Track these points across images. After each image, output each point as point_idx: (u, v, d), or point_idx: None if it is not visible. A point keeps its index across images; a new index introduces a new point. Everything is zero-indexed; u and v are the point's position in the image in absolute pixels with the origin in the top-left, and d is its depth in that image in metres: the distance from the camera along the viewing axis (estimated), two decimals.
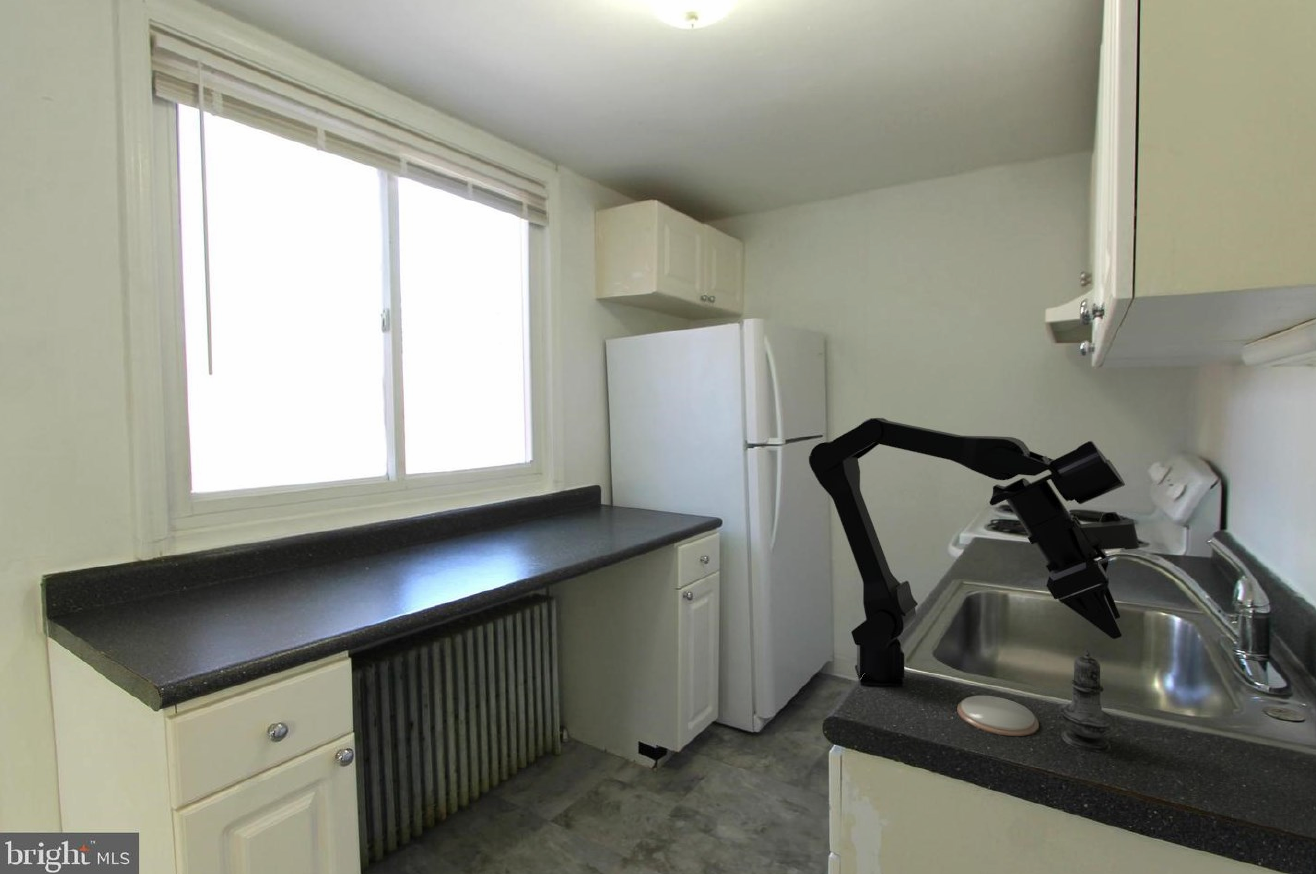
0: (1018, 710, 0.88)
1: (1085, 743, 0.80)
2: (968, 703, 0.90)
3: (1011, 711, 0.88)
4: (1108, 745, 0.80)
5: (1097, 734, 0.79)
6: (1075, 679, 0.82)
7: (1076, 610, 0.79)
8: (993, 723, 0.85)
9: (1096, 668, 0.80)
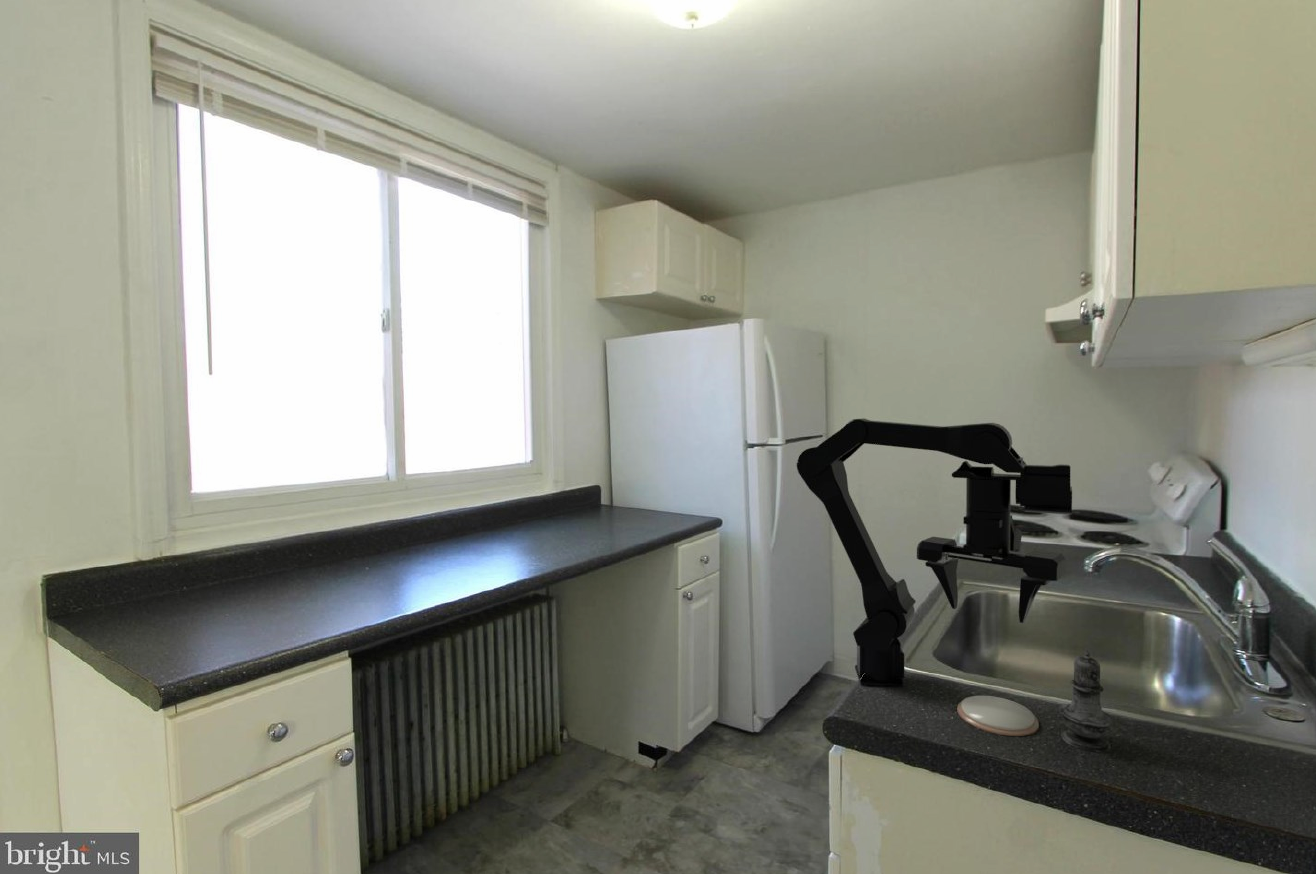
0: (1018, 710, 0.88)
1: (1085, 743, 0.80)
2: (968, 703, 0.90)
3: (1011, 711, 0.88)
4: (1108, 745, 0.80)
5: (1097, 734, 0.79)
6: (1075, 679, 0.82)
7: (1032, 594, 0.86)
8: (993, 723, 0.85)
9: (1096, 668, 0.80)
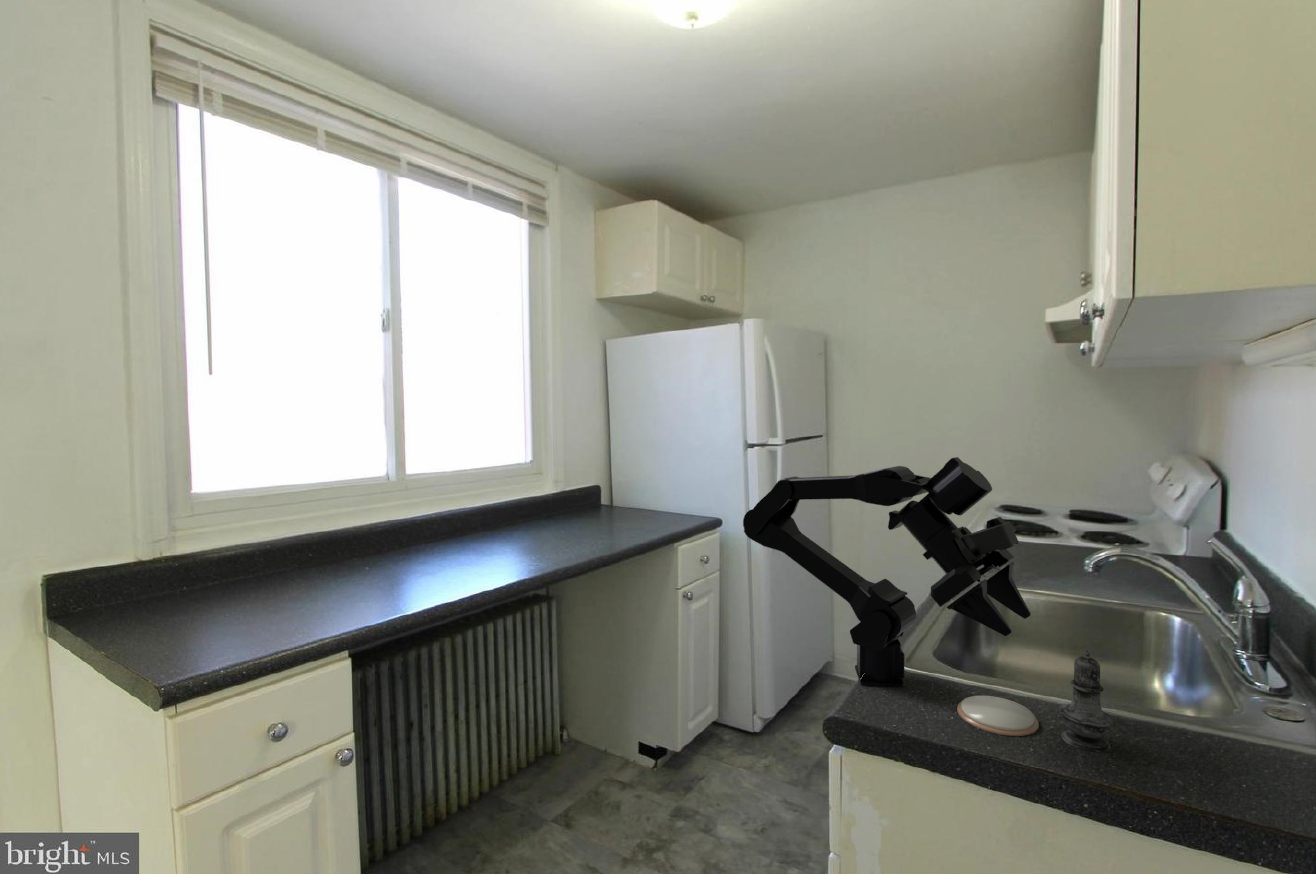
0: (1018, 710, 0.88)
1: (1085, 743, 0.80)
2: (968, 703, 0.90)
3: (1011, 711, 0.88)
4: (1108, 745, 0.80)
5: (1097, 734, 0.79)
6: (1075, 679, 0.82)
7: (965, 614, 0.85)
8: (993, 723, 0.85)
9: (1096, 668, 0.80)
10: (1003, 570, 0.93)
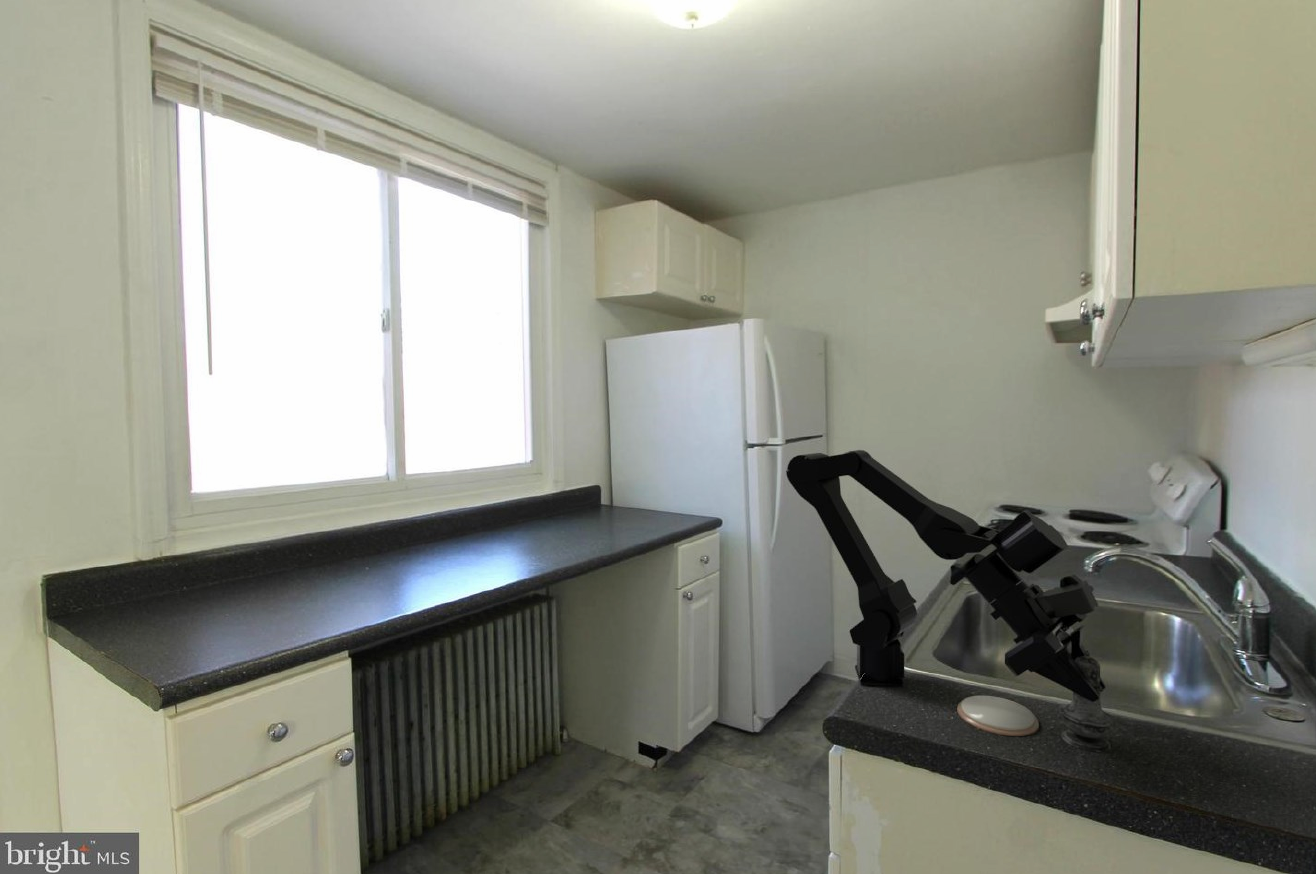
0: (1018, 710, 0.88)
1: (1085, 743, 0.80)
2: (968, 703, 0.90)
3: (1011, 711, 0.88)
4: (1108, 745, 0.80)
5: (1097, 734, 0.79)
6: None
7: (1048, 677, 0.81)
8: (993, 723, 0.85)
9: (1096, 668, 0.80)
10: (1073, 636, 0.84)
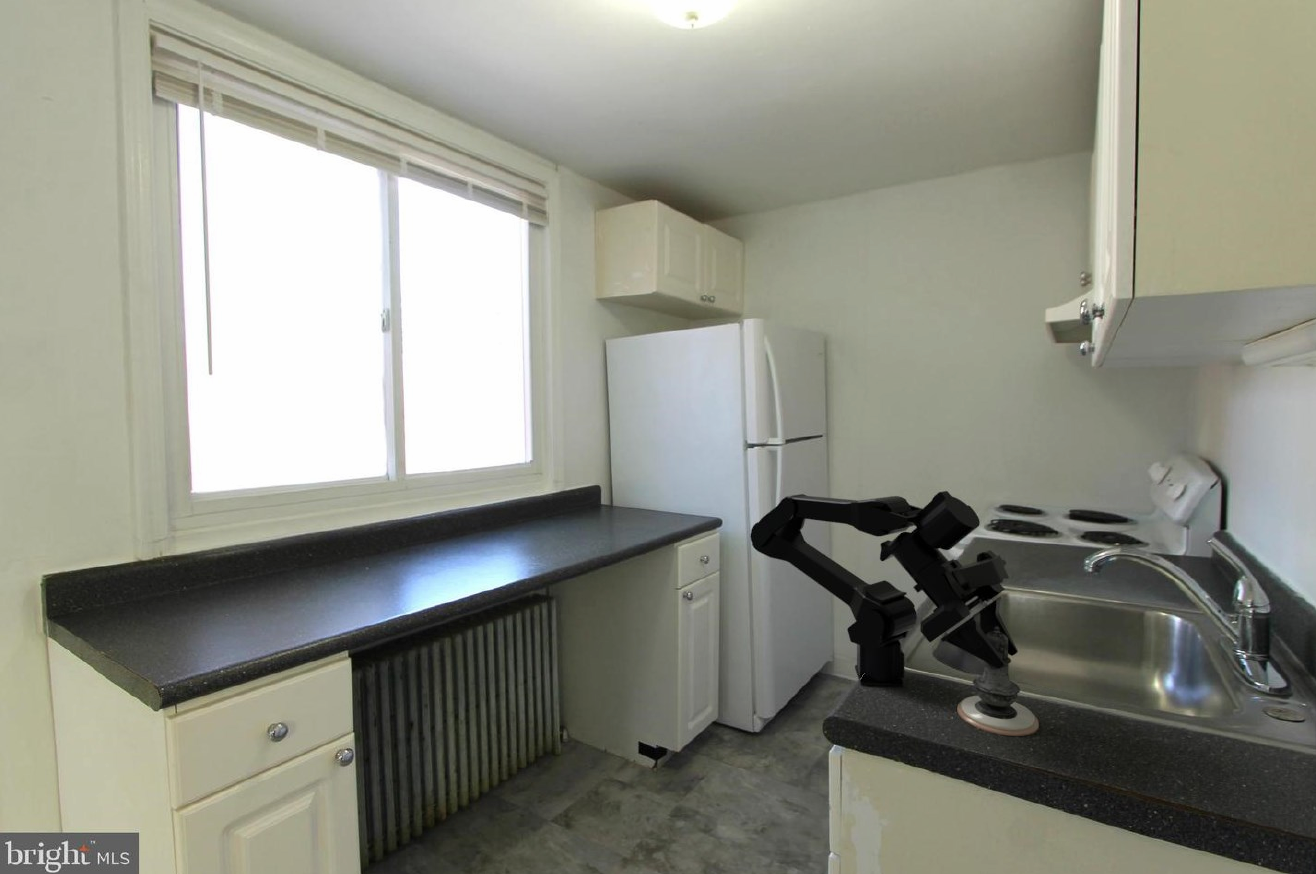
0: (1018, 710, 0.88)
1: (994, 711, 0.87)
2: (968, 703, 0.90)
3: None
4: (1015, 713, 0.87)
5: (1004, 702, 0.86)
6: None
7: (959, 646, 0.87)
8: (993, 723, 0.85)
9: (1004, 641, 0.86)
10: (990, 606, 0.91)
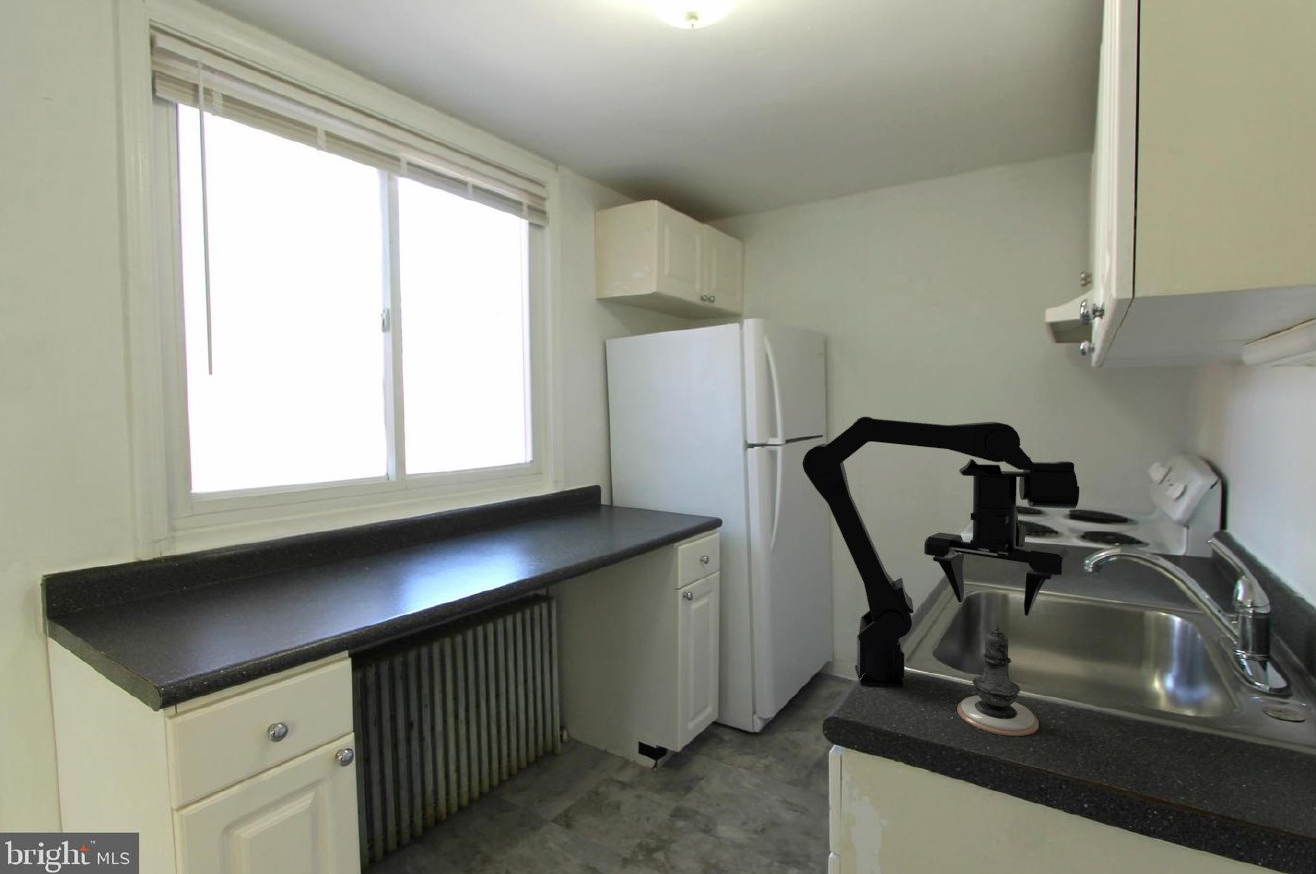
0: (1018, 710, 0.88)
1: (994, 711, 0.87)
2: (968, 703, 0.90)
3: None
4: (1015, 713, 0.87)
5: (1004, 702, 0.86)
6: (986, 652, 0.88)
7: (1037, 587, 0.89)
8: (993, 723, 0.85)
9: (1004, 641, 0.86)
10: (961, 556, 1.00)
